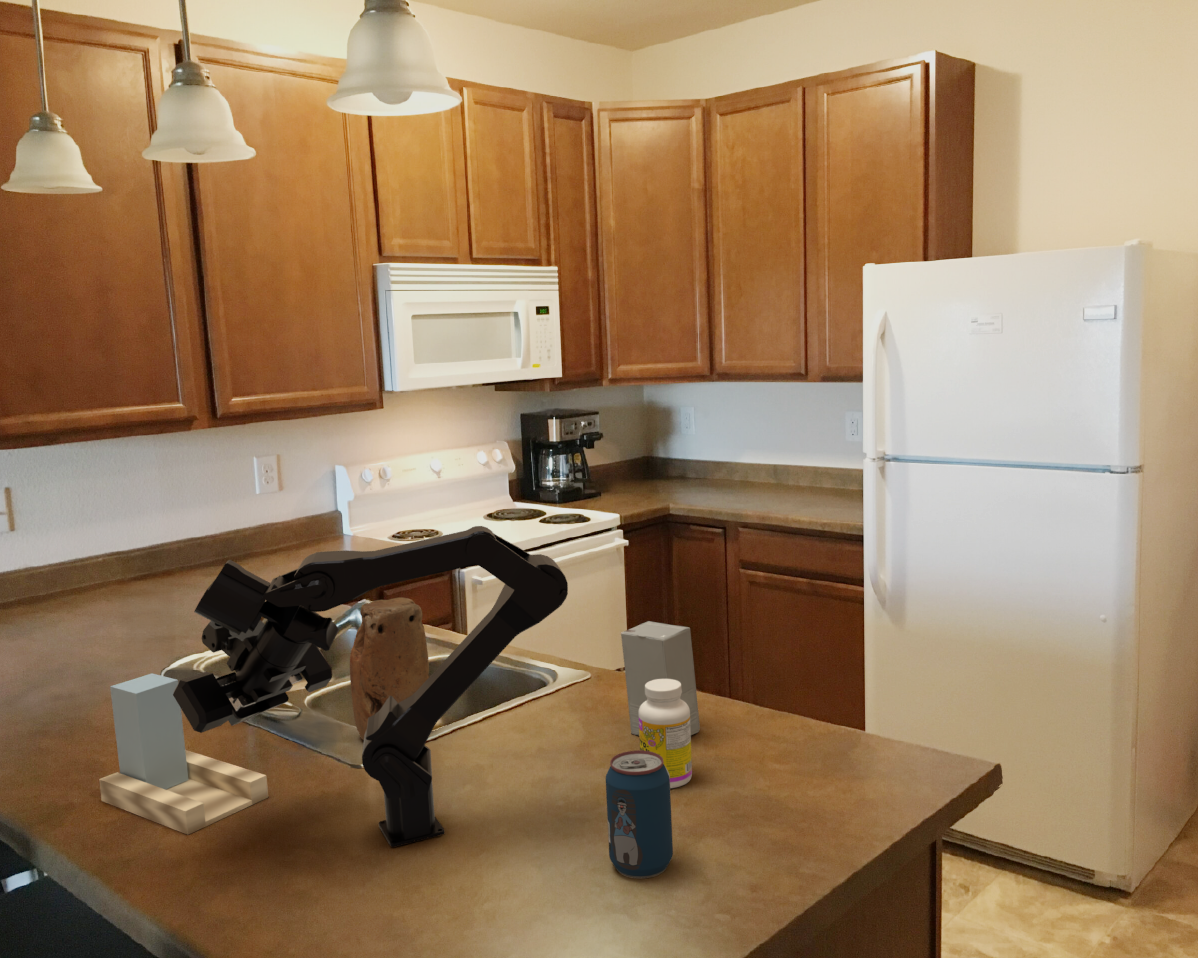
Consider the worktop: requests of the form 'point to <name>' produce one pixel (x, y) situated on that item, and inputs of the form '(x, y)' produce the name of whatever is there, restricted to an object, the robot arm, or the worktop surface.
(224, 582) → the robot arm
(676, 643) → the skincare box
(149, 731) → the grey rectangular block
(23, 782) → the worktop surface
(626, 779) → the soda can
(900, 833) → the worktop surface
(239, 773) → the chute
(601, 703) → the worktop surface
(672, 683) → the supplement bottle
